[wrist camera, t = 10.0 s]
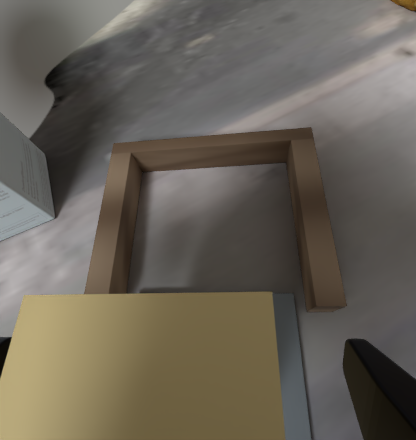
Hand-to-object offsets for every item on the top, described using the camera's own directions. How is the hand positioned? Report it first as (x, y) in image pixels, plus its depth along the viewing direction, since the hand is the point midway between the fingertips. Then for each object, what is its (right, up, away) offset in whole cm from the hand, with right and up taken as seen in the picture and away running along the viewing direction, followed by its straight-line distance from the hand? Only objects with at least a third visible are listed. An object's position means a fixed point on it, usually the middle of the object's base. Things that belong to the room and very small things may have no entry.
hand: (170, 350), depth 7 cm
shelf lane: (+1, +3, +12) cm, 12 cm away
